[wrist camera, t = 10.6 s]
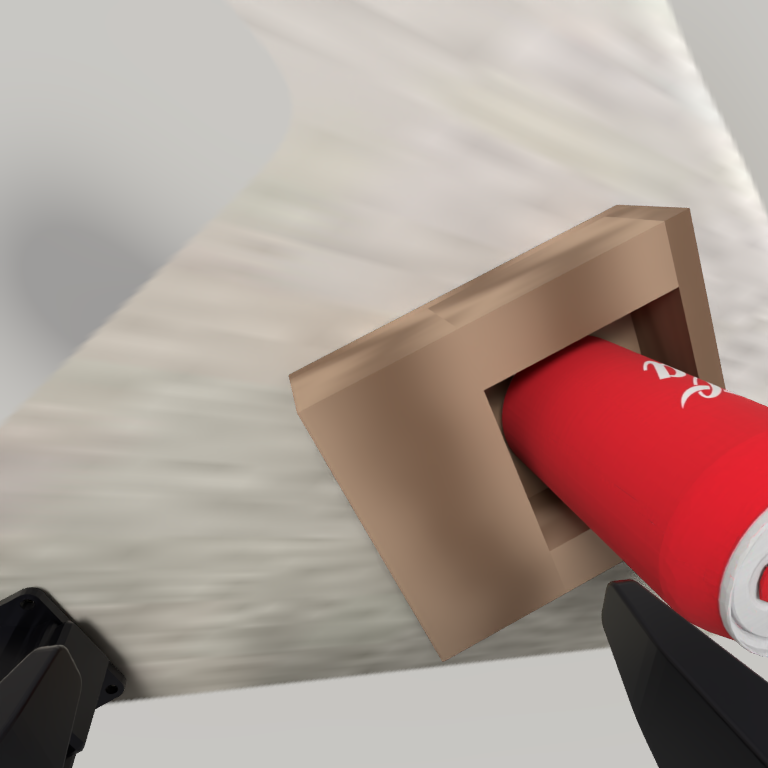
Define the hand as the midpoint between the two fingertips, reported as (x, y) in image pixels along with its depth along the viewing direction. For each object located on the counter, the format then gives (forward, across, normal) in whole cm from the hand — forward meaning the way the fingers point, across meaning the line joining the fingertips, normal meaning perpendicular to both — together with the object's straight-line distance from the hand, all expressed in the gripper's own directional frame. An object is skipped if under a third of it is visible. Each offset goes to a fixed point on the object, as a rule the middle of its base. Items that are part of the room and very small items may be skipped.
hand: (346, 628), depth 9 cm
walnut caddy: (+14, -7, +6) cm, 17 cm away
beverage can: (+14, -9, +5) cm, 18 cm away
